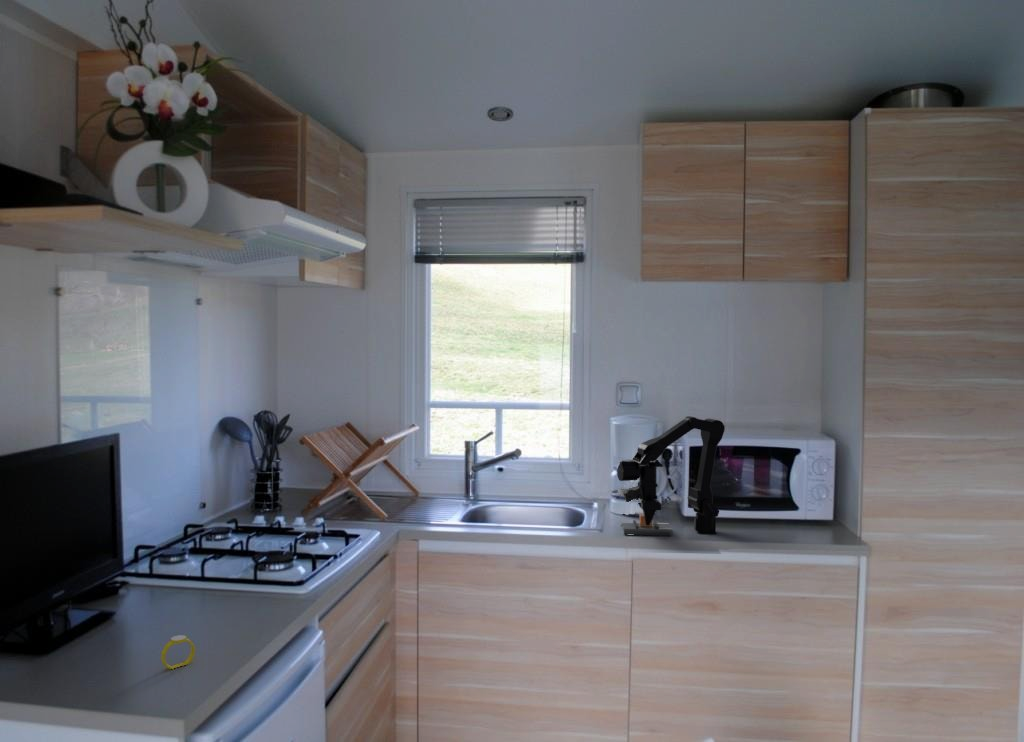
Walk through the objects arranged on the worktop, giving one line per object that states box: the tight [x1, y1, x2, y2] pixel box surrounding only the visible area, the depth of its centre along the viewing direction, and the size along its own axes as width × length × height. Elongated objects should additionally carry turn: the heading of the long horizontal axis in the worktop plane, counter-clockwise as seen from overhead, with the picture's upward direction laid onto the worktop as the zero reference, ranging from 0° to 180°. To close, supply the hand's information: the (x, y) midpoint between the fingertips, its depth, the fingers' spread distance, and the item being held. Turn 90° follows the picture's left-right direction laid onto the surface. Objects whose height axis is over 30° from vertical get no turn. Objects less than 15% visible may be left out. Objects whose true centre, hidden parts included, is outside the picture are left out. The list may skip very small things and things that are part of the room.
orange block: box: [639, 513, 653, 526], centre depth 242 cm, size 4×2×4 cm, turn 87°
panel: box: [620, 519, 673, 536], centre depth 242 cm, size 16×8×3 cm, turn 87°
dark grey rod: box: [623, 532, 671, 537], centre depth 237 cm, size 16×1×1 cm, turn 87°
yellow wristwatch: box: [160, 634, 196, 670], centre depth 138 cm, size 6×3×6 cm, turn 133°
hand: (647, 525), depth 238 cm, fingers closed
